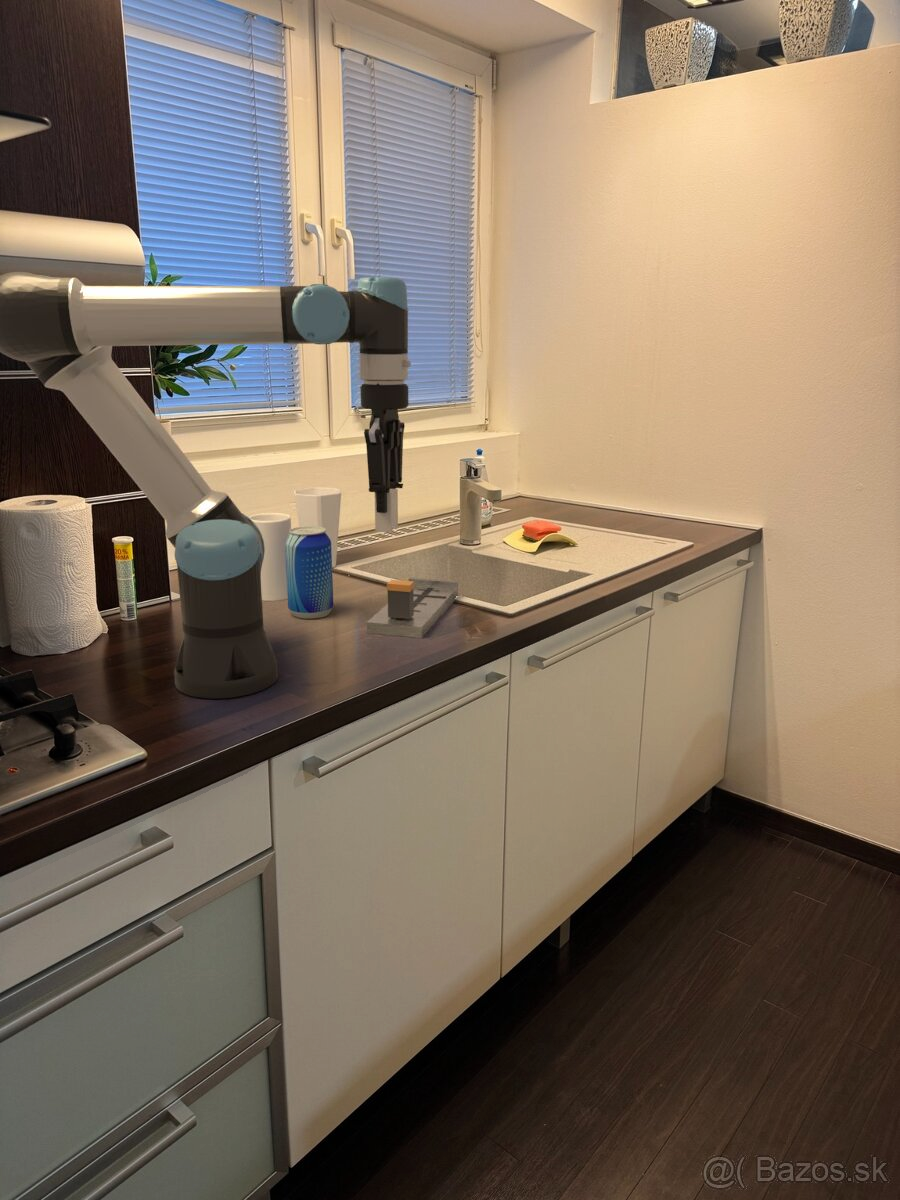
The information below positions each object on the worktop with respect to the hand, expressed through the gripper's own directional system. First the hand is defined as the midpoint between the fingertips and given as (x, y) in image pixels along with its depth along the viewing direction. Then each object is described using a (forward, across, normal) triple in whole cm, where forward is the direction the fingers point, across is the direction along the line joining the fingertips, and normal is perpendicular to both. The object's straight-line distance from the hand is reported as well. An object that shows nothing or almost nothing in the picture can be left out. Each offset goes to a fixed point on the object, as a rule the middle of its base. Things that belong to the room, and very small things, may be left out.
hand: (386, 529), depth 142 cm
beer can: (+20, +11, +19) cm, 29 cm away
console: (+19, +16, 0) cm, 25 cm away
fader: (+17, +7, 0) cm, 19 cm away
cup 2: (+20, +44, +31) cm, 57 cm away
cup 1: (+20, +20, +31) cm, 42 cm away
